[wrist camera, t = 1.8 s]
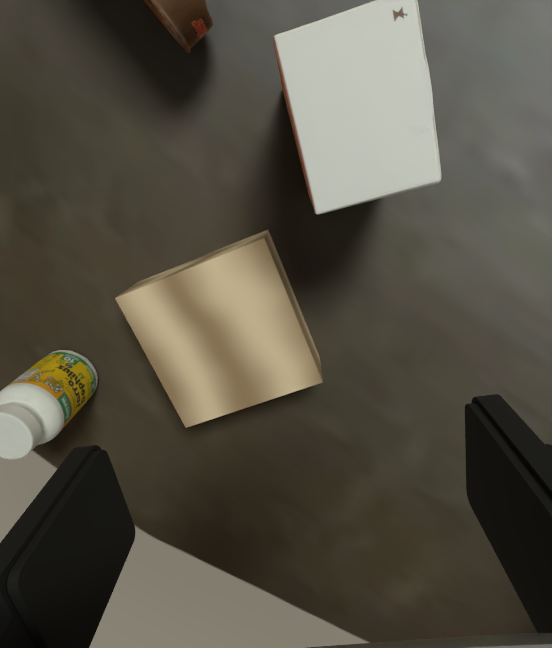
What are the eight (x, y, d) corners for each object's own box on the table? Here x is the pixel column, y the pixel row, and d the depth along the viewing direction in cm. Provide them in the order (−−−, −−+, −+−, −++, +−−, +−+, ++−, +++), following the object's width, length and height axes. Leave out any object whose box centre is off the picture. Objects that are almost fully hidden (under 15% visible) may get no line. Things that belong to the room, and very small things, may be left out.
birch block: (268, 228, 34) (264, 238, 29) (319, 355, 38) (322, 382, 33) (138, 281, 36) (115, 298, 31) (198, 397, 40) (185, 427, 35)
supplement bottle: (30, 361, 39) (-50, 419, 30) (78, 339, 38) (10, 392, 29) (64, 408, 40) (-2, 476, 31) (111, 388, 39) (56, 453, 30)
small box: (280, 86, 30) (269, 30, 18) (368, 58, 29) (419, -21, 17) (308, 200, 33) (314, 218, 21) (389, 177, 32) (447, 181, 20)
